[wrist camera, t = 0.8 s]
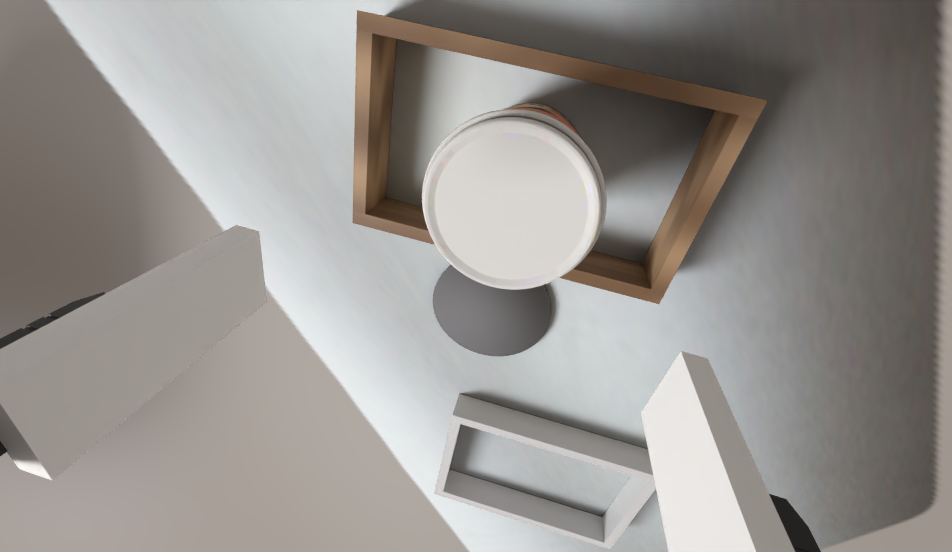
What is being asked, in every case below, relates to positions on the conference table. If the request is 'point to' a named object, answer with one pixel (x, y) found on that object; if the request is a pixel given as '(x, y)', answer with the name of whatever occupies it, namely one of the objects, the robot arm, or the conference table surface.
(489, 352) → the coaster
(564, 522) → the gray rectangular frame
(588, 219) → the coffee cup
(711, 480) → the robot arm
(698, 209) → the frame
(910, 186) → the conference table surface
